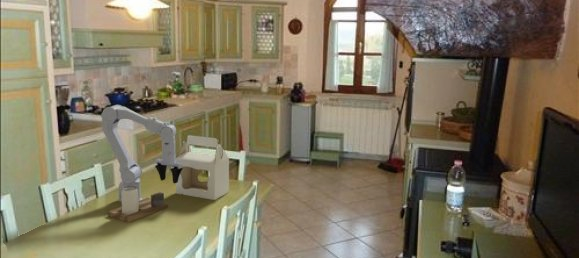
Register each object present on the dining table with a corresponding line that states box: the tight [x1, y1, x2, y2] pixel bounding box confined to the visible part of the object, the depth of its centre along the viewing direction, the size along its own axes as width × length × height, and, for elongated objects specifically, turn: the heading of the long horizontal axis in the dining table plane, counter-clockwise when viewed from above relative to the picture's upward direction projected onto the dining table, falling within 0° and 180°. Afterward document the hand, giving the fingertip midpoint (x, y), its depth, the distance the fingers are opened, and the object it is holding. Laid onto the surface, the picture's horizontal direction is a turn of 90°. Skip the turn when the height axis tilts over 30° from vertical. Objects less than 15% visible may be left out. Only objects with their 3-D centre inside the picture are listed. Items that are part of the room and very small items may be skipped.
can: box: [121, 186, 139, 215], centre depth 185 cm, size 6×6×12 cm
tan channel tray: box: [107, 191, 168, 223], centre depth 190 cm, size 12×21×7 cm, turn 150°
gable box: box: [175, 134, 230, 201], centre depth 215 cm, size 22×13×28 cm, turn 68°
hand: (169, 181), depth 201 cm, fingers open, 7 cm apart
